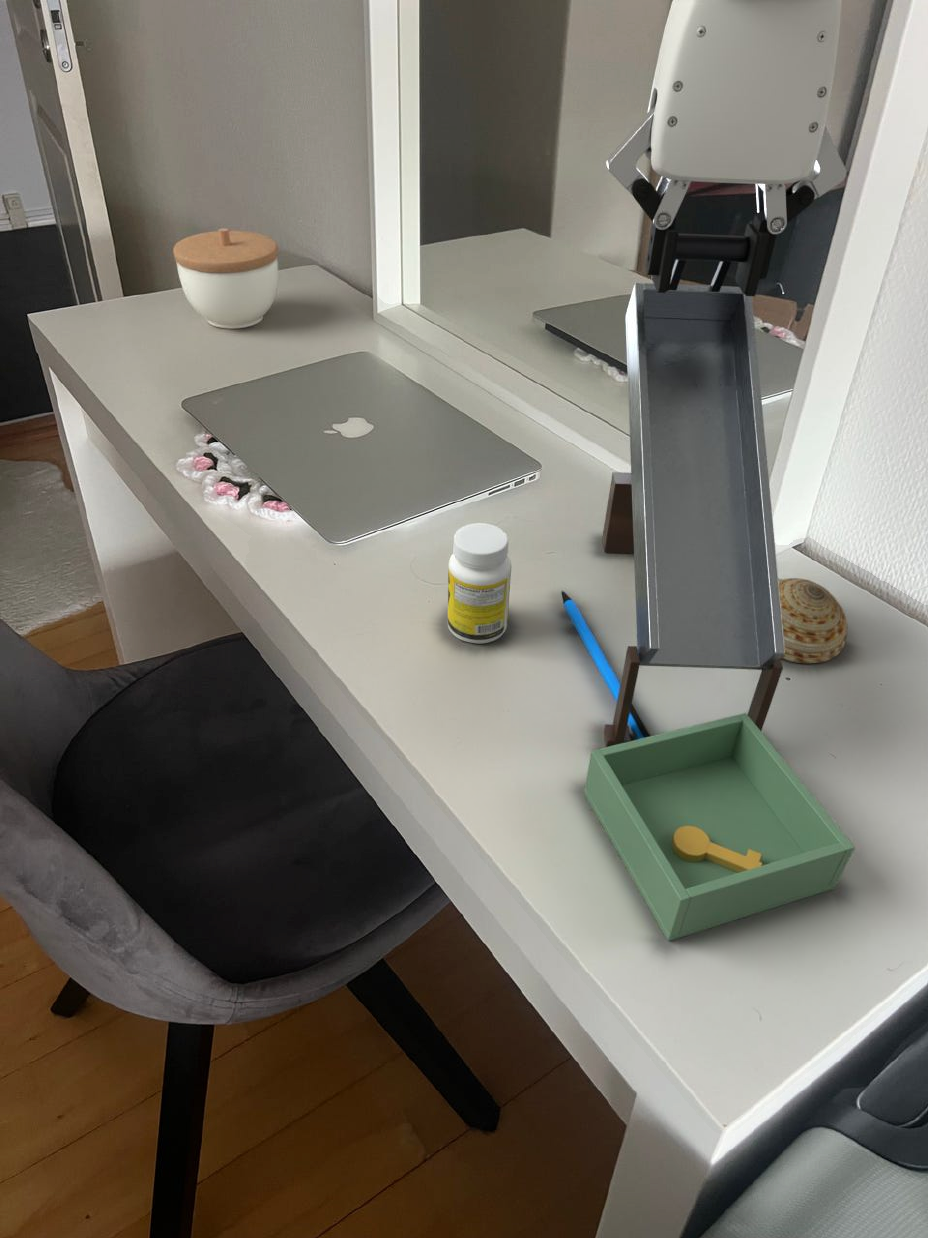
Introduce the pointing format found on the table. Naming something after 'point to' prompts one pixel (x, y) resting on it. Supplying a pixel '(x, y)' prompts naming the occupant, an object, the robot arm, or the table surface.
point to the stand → (622, 541)
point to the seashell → (810, 621)
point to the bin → (713, 823)
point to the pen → (602, 664)
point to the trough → (700, 472)
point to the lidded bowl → (228, 276)
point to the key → (711, 850)
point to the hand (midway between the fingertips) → (702, 284)
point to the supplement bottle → (479, 583)
